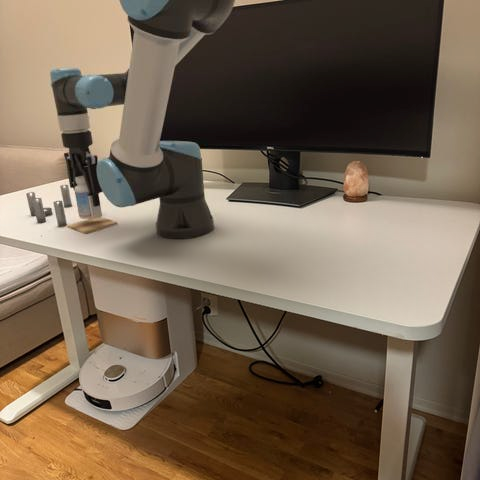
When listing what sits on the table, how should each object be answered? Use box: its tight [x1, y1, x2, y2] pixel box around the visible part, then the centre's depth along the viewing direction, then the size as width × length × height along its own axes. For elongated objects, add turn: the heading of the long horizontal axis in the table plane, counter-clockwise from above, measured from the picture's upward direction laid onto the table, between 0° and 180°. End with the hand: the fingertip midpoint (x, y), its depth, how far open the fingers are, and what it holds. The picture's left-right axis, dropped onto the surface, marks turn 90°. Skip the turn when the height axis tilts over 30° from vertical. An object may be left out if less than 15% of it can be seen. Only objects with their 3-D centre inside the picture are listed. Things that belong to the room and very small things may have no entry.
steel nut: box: [43, 207, 53, 218], centre depth 144 cm, size 4×4×2 cm
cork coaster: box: [66, 216, 119, 235], centre depth 131 cm, size 10×10×1 cm
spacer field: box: [26, 184, 73, 228], centre depth 141 cm, size 20×17×7 cm
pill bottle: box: [74, 175, 93, 220], centre depth 128 cm, size 6×6×11 cm
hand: (90, 214), depth 130 cm, fingers closed on pill bottle, 6 cm apart
